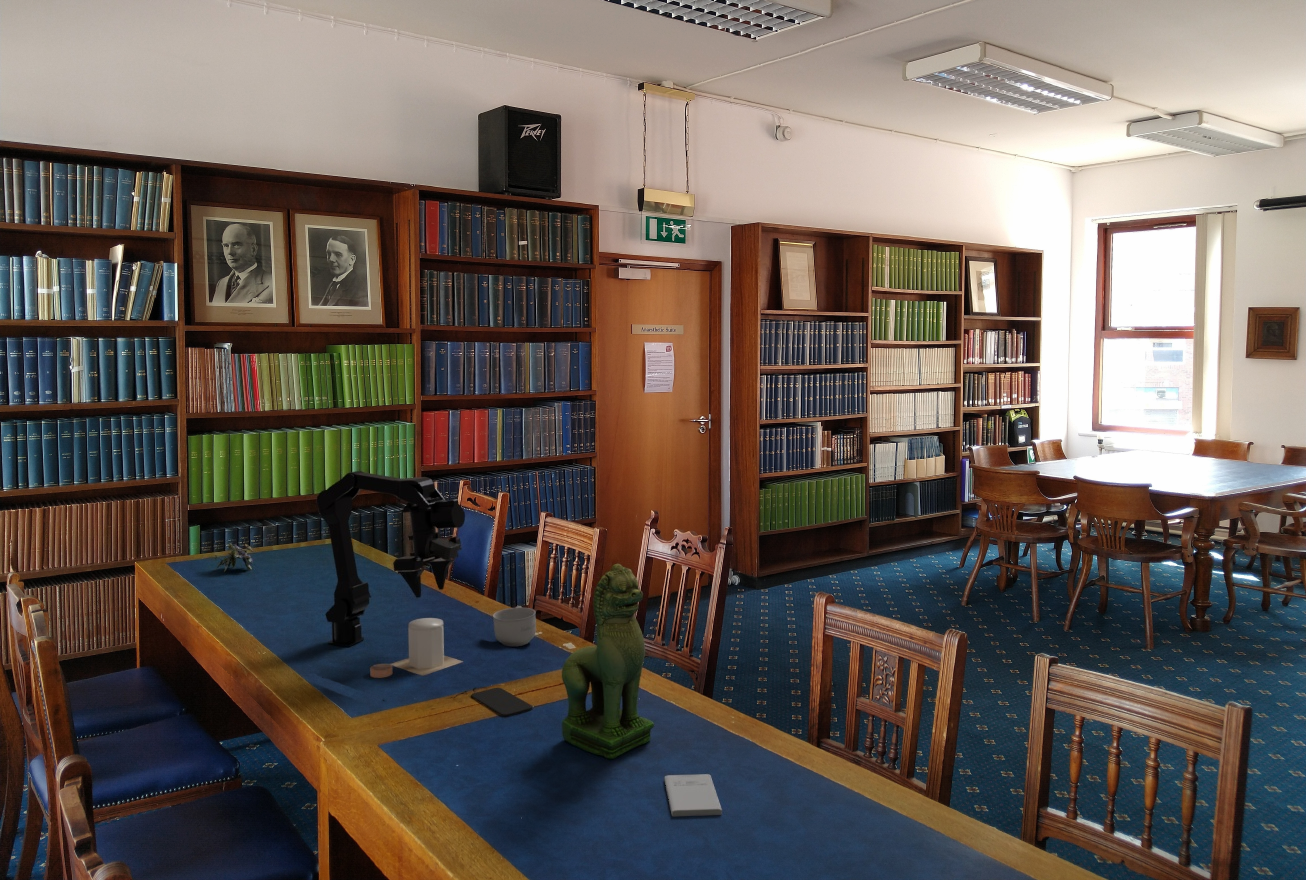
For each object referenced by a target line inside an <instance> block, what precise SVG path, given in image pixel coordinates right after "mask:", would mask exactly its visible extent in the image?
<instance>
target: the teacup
mask: <svg viewBox="0 0 1306 880" xmlns="http://www.w3.org/2000/svg"><path fill="white" fill-rule="evenodd" d="M536 613H537V612H536V610H535V609H534V608H529V607H522V606H521V605H517V606H515V607H510V608H504V609H501V610H498V611H496V612H494V613H493V614H492V619H493V629H494V630H493V631H494V636H495V639H496V640H497V641H498V642H499V643H501V644H502V645H503V646H505V645H506V647H519V646H522V647H523V646H524V645H527V644H528V643H530V641H531V640H532V639H533V638H535V636H536V633H537V632H536V631H537V622H536Z"/></svg>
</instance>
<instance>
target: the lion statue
mask: <svg viewBox="0 0 1306 880" xmlns="http://www.w3.org/2000/svg"><path fill="white" fill-rule="evenodd" d="M593 592H594V593H593V598H592V600H593V601H592V605H593V615H594V619H595V624H596V625H595V626H596V645H595V646H594V645H590V646H584V647H581V648H578V649H577V650H575V651H574V652H572V653H571V654H570V655H569V656H568V657H567V658H566V660H565V661H564V664H563V666H562V669H561V680H562V683H563V685H564V687H565V692H566V695H567V700H568V701H567V702H568V708H567V709H568V710H567V716H566V717H565V718H563V720H562V721H561V730H562V731H561V732H562V733H561V734H562V738H563V740H564V741H565V742H567V743H569V744H570V745H572V746H575V747H577V748H579V749H581V750H583V751H585V752H589V753H590V754H593V755H596V756H601V757H604V758H606V759H608V760H614V759H615V758H618V757H620V756H621V755H623V754H625V753H628V752H629V751H630V750H632V749H635V748H637V747H641V746H642V745H644V744H645V745H646V744H647V743H648V742H650V740H651V737H652V736H651V730H652V729H653V728H654V727H655V723H654V722H653V721H652V720H650V719H649V718H646V717H642V716H640V715H639V714H638V698H639V689H640V682H641V676H642V671H643V667H644V666H643V665H644V661H645V656H646V644H645V638H644V635H643V632H642V629H641V628H640V624H639V622H638V620H637V618H636V616H635V614H636V613H637V612H638V611H639V603H640V602H642V600H643V598H644V597H643V596H644V593H643V591H642V590H641V588H639V581H638V579H637V578H636V576H635V575H634V573H633V571H632V569H630V568H628V567H624V566H623V565H622V564H620V563H615V564H613V565H612V567H611V568H610V570H609V571H607V572H605V574H603V575H602V576H601V577H600V580H599V581H598V582H597V584H596V586H595V588H594V591H593ZM590 689H591V691H590V692H591V707H590V709H588V710H587V707H586V704H587V703H586V702H587V697H588V693H589V690H590ZM621 706H622V707H621Z"/></svg>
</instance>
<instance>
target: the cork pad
mask: <svg viewBox="0 0 1306 880" xmlns="http://www.w3.org/2000/svg"><path fill="white" fill-rule="evenodd" d="M461 663H464V661H463V660H459V659H457V658H453V657H451V656H447V655H444V661H443V665H440V666H437V667H434V668H425V669H417V668H414V667H411V666H409V657H408V658H405V659H401V660H398V661H395V662H391V663H389V664H390V665H392V667H395V668H398V669H402V670H404V671H408V672H410V673H413V674H415V675H416V674H417V675H419V676H422V677H424V676H426V675H429V674H430V675H431V674H432V673H435V672H438V671H441V670H443V669H446V668H449V667H452V666H455V665H458V664H459V665H460V664H461Z"/></svg>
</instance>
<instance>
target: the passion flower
mask: <svg viewBox="0 0 1306 880" xmlns="http://www.w3.org/2000/svg"><path fill="white" fill-rule="evenodd" d="M245 547H246V549H243V548H241V547H239V546H238V545H237V544H232V543H231V542H229V543H228V546H227V548H228V549H229V550H230V552H228V554H227V555H228V556H227V557H224V558H220V557H218V555H217V554H214V561H217V559H218V560H220V562H219V563H218V565H217V567H216V568H219V567H221V565H222V566H224V571H223V573H226V571H227V569H228V568H232V569H233V568H234V567H236V563H237V559H240V560H241V559H242V561H243V563H244V565H245V567H246V569H247V570H248V571H252V570H253V569H252V566H251V565H252V564H253V561H254V559H253V558H252V557H251V555H250V554H249V553H248V551H251V553H254V549H253V548H252V547H251V546H250V545H249V544H247V543H245Z"/></svg>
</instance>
